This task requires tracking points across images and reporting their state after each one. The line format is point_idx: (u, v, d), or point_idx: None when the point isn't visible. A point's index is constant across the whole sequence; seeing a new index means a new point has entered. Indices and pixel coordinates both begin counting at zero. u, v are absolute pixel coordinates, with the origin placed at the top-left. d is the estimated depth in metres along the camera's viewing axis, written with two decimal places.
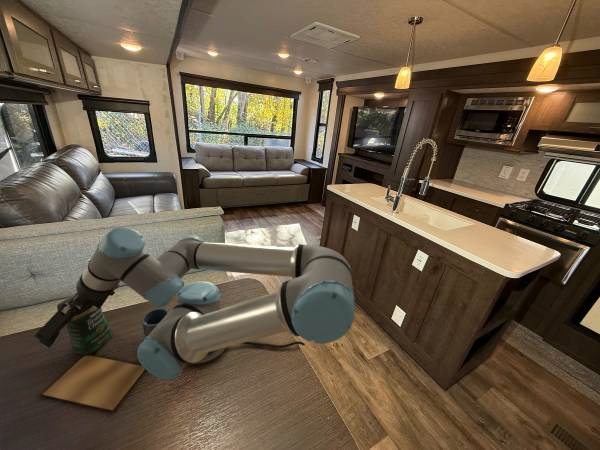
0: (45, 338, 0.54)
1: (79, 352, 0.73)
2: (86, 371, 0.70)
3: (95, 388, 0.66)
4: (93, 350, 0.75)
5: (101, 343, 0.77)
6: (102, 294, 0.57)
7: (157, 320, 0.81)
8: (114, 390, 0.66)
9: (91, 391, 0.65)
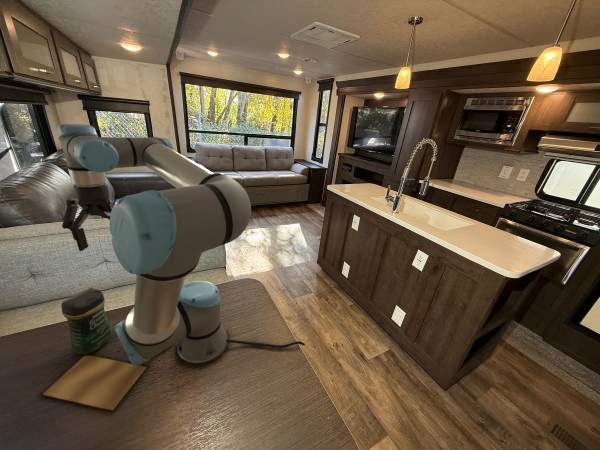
0: None
1: (78, 351, 0.73)
2: (86, 371, 0.70)
3: (95, 388, 0.66)
4: (92, 350, 0.75)
5: (101, 343, 0.77)
6: (74, 190, 0.66)
7: None
8: (114, 390, 0.66)
9: (91, 391, 0.65)
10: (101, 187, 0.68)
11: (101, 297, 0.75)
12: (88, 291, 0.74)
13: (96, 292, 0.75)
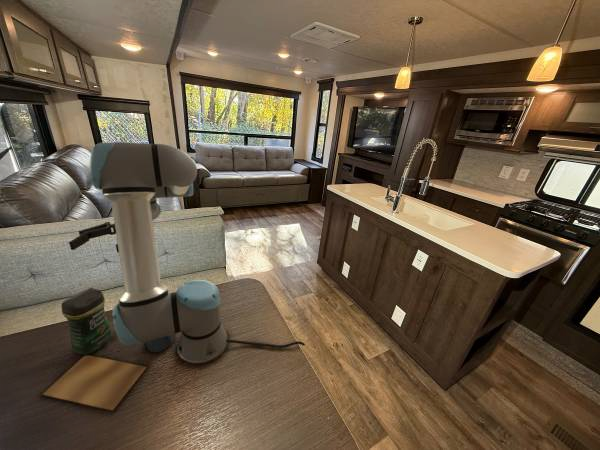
0: None
1: (78, 351, 0.73)
2: (86, 371, 0.70)
3: (95, 388, 0.66)
4: (92, 350, 0.75)
5: (101, 344, 0.77)
6: None
7: None
8: (114, 390, 0.66)
9: (91, 391, 0.65)
10: None
11: (101, 297, 0.75)
12: (88, 291, 0.74)
13: (96, 292, 0.75)
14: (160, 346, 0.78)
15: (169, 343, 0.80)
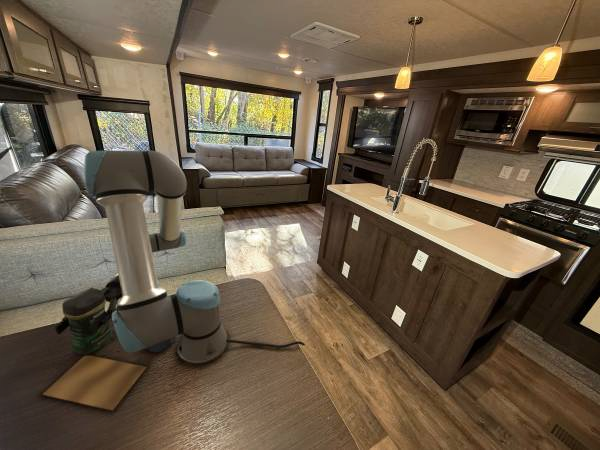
0: None
1: (78, 351, 0.73)
2: (86, 371, 0.70)
3: (95, 388, 0.66)
4: (92, 350, 0.75)
5: (101, 344, 0.77)
6: (113, 277, 0.88)
7: None
8: (114, 390, 0.66)
9: (91, 391, 0.65)
10: None
11: (102, 297, 0.75)
12: (89, 291, 0.74)
13: (97, 292, 0.75)
14: (160, 346, 0.78)
15: (169, 343, 0.80)
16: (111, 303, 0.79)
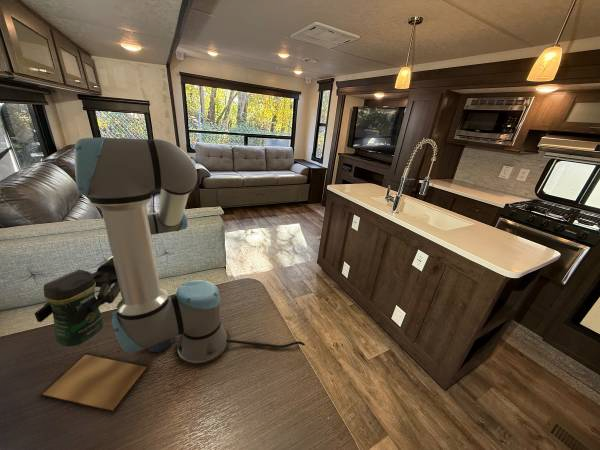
0: None
1: (63, 343, 0.63)
2: (86, 371, 0.70)
3: (95, 388, 0.66)
4: (80, 342, 0.65)
5: (90, 334, 0.67)
6: None
7: None
8: (114, 390, 0.66)
9: (91, 391, 0.65)
10: None
11: (91, 280, 0.64)
12: (76, 273, 0.64)
13: (85, 274, 0.64)
14: (160, 346, 0.78)
15: (169, 343, 0.80)
16: (102, 288, 0.69)
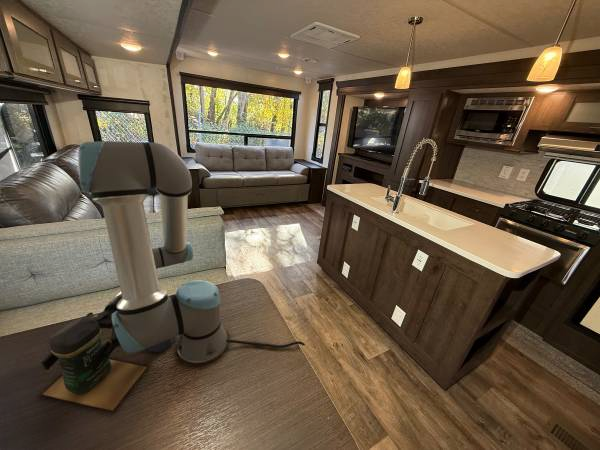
0: None
1: (72, 391, 0.64)
2: None
3: (95, 388, 0.66)
4: (88, 388, 0.65)
5: (98, 379, 0.67)
6: (112, 299, 0.78)
7: None
8: (114, 390, 0.66)
9: (91, 391, 0.65)
10: None
11: (96, 328, 0.64)
12: (81, 322, 0.63)
13: (90, 322, 0.64)
14: (160, 346, 0.78)
15: (169, 343, 0.80)
16: (113, 330, 0.70)
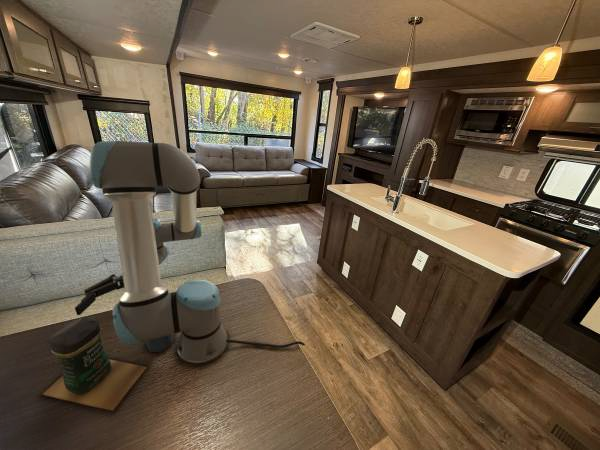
0: None
1: (72, 391, 0.64)
2: None
3: (95, 388, 0.66)
4: (88, 388, 0.65)
5: (98, 379, 0.67)
6: None
7: None
8: (114, 390, 0.66)
9: (91, 391, 0.65)
10: None
11: (96, 328, 0.64)
12: (81, 322, 0.63)
13: (90, 322, 0.64)
14: (160, 346, 0.78)
15: (169, 343, 0.80)
16: None
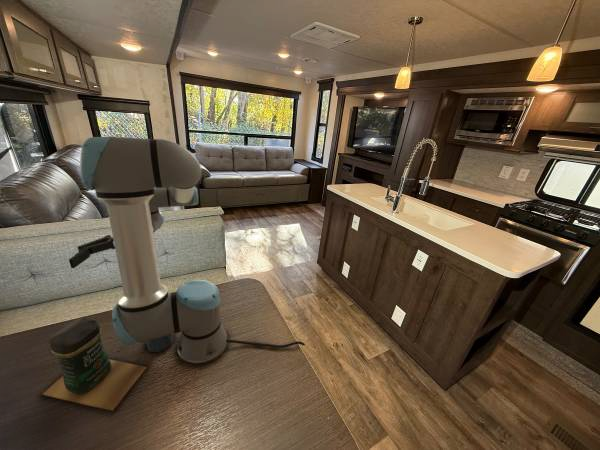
0: None
1: (72, 391, 0.64)
2: None
3: (95, 388, 0.66)
4: (88, 388, 0.65)
5: (98, 379, 0.67)
6: None
7: None
8: (114, 390, 0.66)
9: (91, 391, 0.65)
10: None
11: (96, 328, 0.64)
12: (81, 322, 0.63)
13: (90, 322, 0.64)
14: (160, 346, 0.78)
15: (169, 343, 0.80)
16: None
